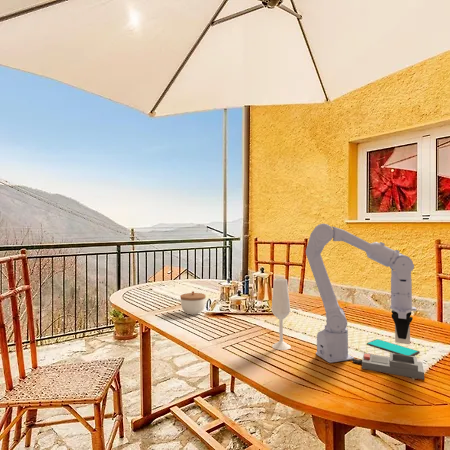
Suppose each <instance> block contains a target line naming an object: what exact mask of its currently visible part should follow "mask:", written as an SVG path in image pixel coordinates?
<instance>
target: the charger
mask: <svg viewBox="0 0 450 450" xmlns="http://www.w3.org/2000/svg"><path fill="white" fill-rule="evenodd" d="M394 340H395V341H394V342H395V343H397V344H404V345H411V327H410V325H409V328H408V333H407V337H406V339H400V338H398V335H397V330H396V326H395V325H394ZM395 343H394V344H395Z"/></svg>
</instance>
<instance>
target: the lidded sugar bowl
mask: <svg viewBox="0 0 450 450" xmlns="http://www.w3.org/2000/svg"><path fill="white" fill-rule="evenodd" d="M206 297H207V296H206V294H205V293H202V292H195V291H193V290H192V291H191V292H188V293H187V292H186V293H184V294H181V295H180V306H181V309H182V311H183V312H184V313H185V314H186V313H187V314H198V313H200V314H201V313H202V312H203V310H204V308H205V306H206ZM187 314H186V315H187ZM198 315H199V314H198Z"/></svg>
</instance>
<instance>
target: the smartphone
mask: <svg viewBox="0 0 450 450" xmlns="http://www.w3.org/2000/svg"><path fill="white" fill-rule="evenodd" d="M366 345H367V346H370V347H374V348H377V349H380V350H383V351H386V352H388V353H396V354H402V355H409V356H416V355H418V354H420V351H419V350H416V349H413V348H409V347H406V346H402V345H400V344H395V343H392V342H388V341H385V340H382V339H378V338H377V339H374V340H372V341H369V342H367V343H366Z"/></svg>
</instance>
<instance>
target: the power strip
mask: <svg viewBox="0 0 450 450" xmlns="http://www.w3.org/2000/svg"><path fill="white" fill-rule="evenodd" d="M352 362H353V363H356V364H361V369H362V370H363V369H364V370H368V371H374V372H380V373H385V374H391V375H398V376H400V377H407V378H412V379H419V380H424V381H425V371H424V365H423V361H418V357H417V356H416V355H414V356H409V355H402V354H396V353H392V352H389V356H385V355H379V354H372V353H366V352H364V353H363V355H362V359H357V358H354V359H352Z"/></svg>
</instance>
